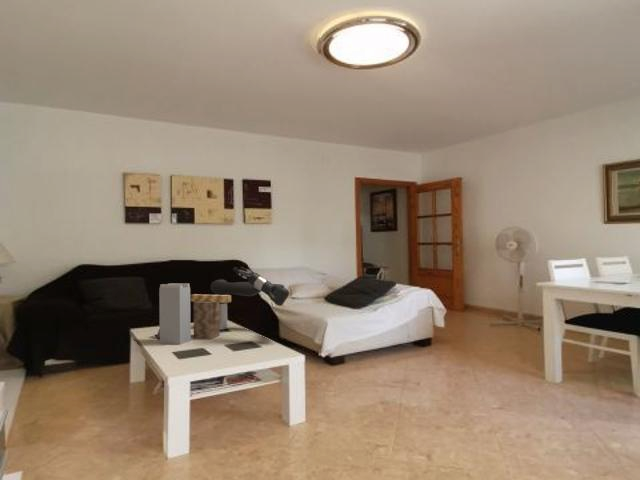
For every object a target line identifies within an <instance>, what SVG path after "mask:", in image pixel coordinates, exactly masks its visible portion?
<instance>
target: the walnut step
mask: <svg viewBox="0 0 640 480" xmlns="http://www.w3.org/2000/svg"><path fill="white" fill-rule="evenodd" d="M192 302H193V301H192ZM192 305H193V339H199V340H213V339H216V338H219V337H220V335H221V334H220V333H221V331H220V308H219V302H193V304H192Z"/></svg>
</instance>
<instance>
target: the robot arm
mask: <svg viewBox="0 0 640 480" xmlns="http://www.w3.org/2000/svg"><path fill="white" fill-rule="evenodd" d="M232 271H234V272H235V273H236V275H237V276H238V277H240V278H242V279H243V280H245V279H246V280H248V281H237V282H235V281H233V282H228V281H227V280H225V279H216V280H214V281H213V282H211V284H210V290H211V291H212V293H214V294H215V295H237V296H243V297H254V296H256V295H258V294H260V293H261V292H263V294H266V296H268V297H269V299H270V301H272V302H273V303H274V304H275V305H276V306H281V307H282V306H283V305H284V303H285V302H286V300H287V299H288V298H289V296H290V291H289V290H288V288H286V287H285V285H284V284H282V283H281V284H279V283H272V282H271V281H269V280H268V279H266V278H265V277H264V276H262V275H260V274H259V273H257V272H254V271H252V270H251V269H249V268H245V267H244V266H241V265H240V268H238V267H236V266H233V268H232ZM219 308H220V330H221V331H222V330H226V329H228V303H222V302H219Z"/></svg>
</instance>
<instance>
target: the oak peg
mask: <svg viewBox="0 0 640 480" xmlns="http://www.w3.org/2000/svg"><path fill="white" fill-rule="evenodd" d="M190 302H222V303H227V304H228V303H231V302H232V294H228V295H216V294H201V293H200V294H197V293H194V294H190Z"/></svg>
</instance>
